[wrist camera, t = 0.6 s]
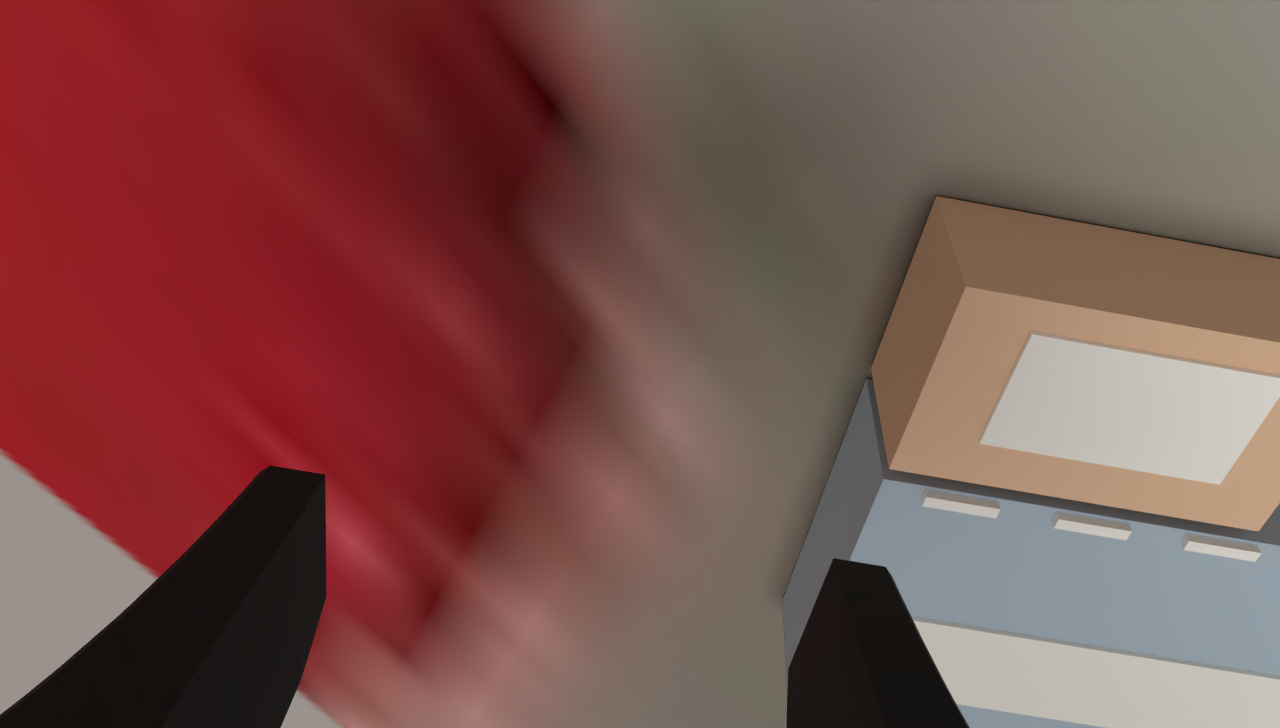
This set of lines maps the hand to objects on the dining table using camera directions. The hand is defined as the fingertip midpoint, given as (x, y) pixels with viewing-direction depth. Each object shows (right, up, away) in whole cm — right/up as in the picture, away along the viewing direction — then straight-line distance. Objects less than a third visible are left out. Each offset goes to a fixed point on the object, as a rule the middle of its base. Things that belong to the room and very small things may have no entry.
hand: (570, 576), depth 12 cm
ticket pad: (+11, -2, +12) cm, 17 cm away
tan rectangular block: (+9, +3, +9) cm, 13 cm away
